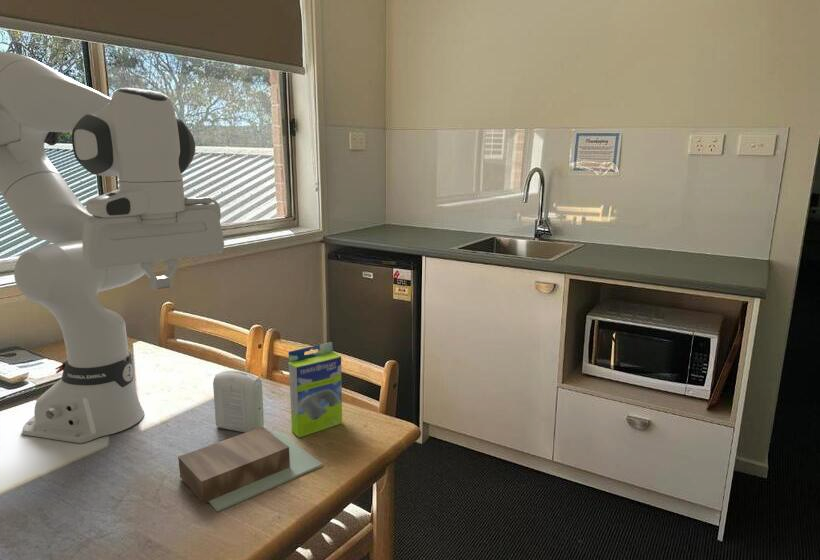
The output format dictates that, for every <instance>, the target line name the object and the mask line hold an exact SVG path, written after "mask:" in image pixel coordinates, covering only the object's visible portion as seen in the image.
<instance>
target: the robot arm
mask: <svg viewBox="0 0 820 560" xmlns="http://www.w3.org/2000/svg"><path fill="white" fill-rule="evenodd" d="M64 133H71V144H72V145H71V146H72V150H73V154H74V157H75V159H76V160H77V162H78V164H80V165H81V167H82V168H84V169H85V170H86V171H87V172H89V173H90V174H92V175H97V176H101V177H119V178H118V186H119V188H118V189H115V190H112V191H110V192H107V193H104V194H101V195H98V196H95V197H92V198H89V199H88V200H86V202H85V206H84V204H83V203H82V202H81V201H80V200H79V198H78V197H77V196H76V194H75V193H74V191H73V190H72V189H71V187H70V186H69V185H68V184H67V182H66V181H65V179H64V178H63V176H62V175H61V174H60V172H59V170H58V169H57V168H56V167H55V165H53V163H52V161H51V160H50V159H49V157H48V156H47V155H48V154H46V150H45V143H46V144H47V145H49V146H54V145H56V144H57V143H58V142H59V137H60V136H62V135H63V134H64ZM195 153H196V141H195V139H194V136H193V134H192V132H191V130H190V129H189V127H188V126H187V124H186V123H184V121H182V119H181V118H180V117H178V116H176V113H175V109H174V106H173V102H172V101H171V98H170V97H169V96H168V95H166V94H165V93H162V92H160V91H157V90H152V89H145V88H139V87H120V88H117V89H115V90H114V91H113V93H112V94H111V96H109V95H106V94H105V93H102V92H100V91H99V90H95V89H93V88H92V87H89V86H87V85H85V84H83V83H80V82H78V81H77V80H74V79H73V78H71V77H69V76H67V75H64V74H63V73H61V72H59V71H57V70H55V69H53V68H52V67H50V66H49V65H46V64H44V63H43V62H40V61H38V60H36V59H35V58H32V57H29V56H26V55H24V54H19V53H16V52H11V51H0V194H1V196H2V197H3V199H4V201H5V202H6V204H7V205H8V207H9V208H10V210H11V211H12V213H13V215H14V216H15V217H16V219H17V221H18V222H19V223H20V225H21V226H22V228H23V229H24V230H25V231H26V232H27V233H28V234H29V235H31V236H32V237H35V238H37V239H40V240H43V241H47V242H50V243H48V244H44V245H42V246H39V247H38V246H37V247H36V248H33V249H31V250H29V251H25V252H23V253H22V254H20V255H19V257H18V258H17V260H16V263H15V265H14V270H13V277H14V281H15V284H16V287H17V288H18V290H19V291H20V293H22V294H23V295H24V296H25V297H26V298H27V299H28V300H30V301H32V302H34V303H36V304H39V305H41V306H43V307H44V308H46V309H47V310H48V311H49V312H50V313H51V314H52V315H53V317H55V319H56V321H57V322H58V325H59V326H60V329H61V332H62V337H63V340H64V341H63V342H64V346H65V352H66V358H67V360H65V361H64V362H62V364H61V365H59V366H57V367H55V370H56V371H55V374H59V373H61V372H62V375H61V378H60V379H59V380H58V381H57V382H55V383H54V384H53V385H52V386H51V387H49V388H48V389H47V390H46V391H45V392H44V393H42V394H41V395H40V396H39V397H38V398H37V400H36V402H35V406H34V412H33V413H34V416H32V417H31V418H30V419H29V420H28V421H26V422H25V424H23V427H22V434H23V435H25V436H31V437H36V438H44V439H50V440H56V441H63V442H70V443H75V444H83V443H87V442H90V441H93V440H95V439H97V438H101V437H103V436H104V437H105V436H109V435H113V434H115V433H116V434H117V433H119V432H122V431H125V430H127V429H130V428H131V427H133V426H134V425H136V424H138V423H139V422H140V421H141V420H142V419H143V418H144V416H145V411H144V409H143V408H142V405H141V402H140V399H139V398H138V395H137V391H136V390H137V389H136V388H135V382H134V368H133V367H134V366H133V358H132V353H131V352H130V351H129V345H128V344H129V343H128V336H127V328H126V322H125V320H124V318H123V317H122V316H121V315H120V314H119V313H117V312H116V311H114V310H111V309H108V308H103V306H102V305H101V302H100V300H99V295H98V294H99V293H100V292H105V291H108V290H112V289H116V288H121V287H123V286H126V285H128V284H130V283H132V282H134V281H136V280H138V279H140V278H142V277H143V276H145V275H146V277H147V278H148V279H149V286H150V289H151V290H153V291H157V290H163V289H165V290H166V289H171V288H173V287H174V281H173V278H174V276H175V274H176V272H177V270H178V268H179V265H180V264H179V259H185V258H186V259H187V258H194V257H202V256H203V257H204V256H209V255H219V254H221V253H222V251H223V249H224V248H225V240H224V235H223V229H222V225H221V221H220V220H221V218H222V215H221V214H222V213H221V206H220V204H219V203H218V201H216V200H215V199H213V198H211V197H209V196H204V197H198V198H197V197H185V192H184V191H185V190H184V182H183V175H182V174H184V172H185V171H187V169H188V167H189V166H190V165H191V163H192V162H193V159H194V157H195ZM161 261H164V264H165V265H167V268H166V270H165V272H164V275H159V276H156V274H155V273H154V272H153V270H154V269H155V262H161ZM152 269H153V270H152Z"/></svg>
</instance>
